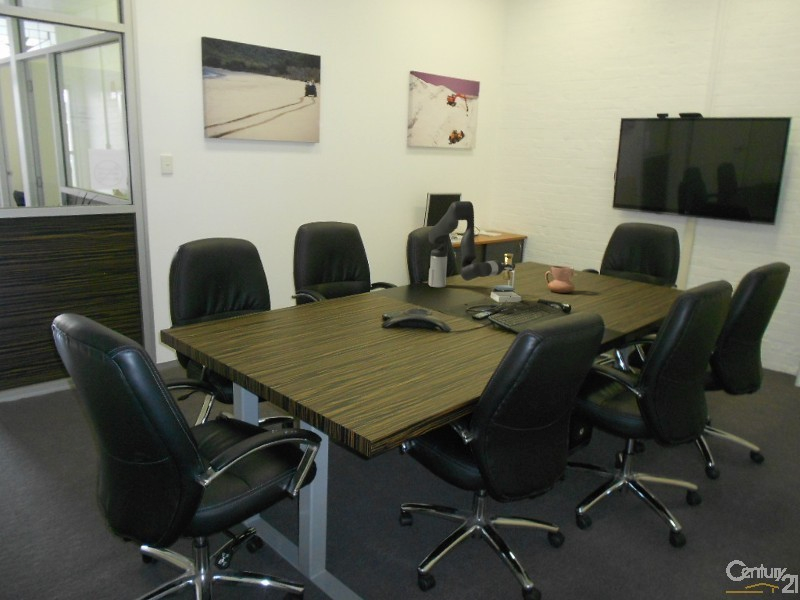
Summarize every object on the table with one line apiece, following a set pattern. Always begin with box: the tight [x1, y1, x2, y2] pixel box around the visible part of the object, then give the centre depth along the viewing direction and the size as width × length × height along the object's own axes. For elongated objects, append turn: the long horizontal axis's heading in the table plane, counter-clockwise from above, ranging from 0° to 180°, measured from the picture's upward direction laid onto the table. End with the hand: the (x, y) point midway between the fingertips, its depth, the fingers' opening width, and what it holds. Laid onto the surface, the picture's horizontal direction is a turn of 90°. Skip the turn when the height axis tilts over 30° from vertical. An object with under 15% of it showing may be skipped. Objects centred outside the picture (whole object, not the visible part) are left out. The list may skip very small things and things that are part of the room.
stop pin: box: [502, 253, 514, 281], centre depth 303 cm, size 5×5×13 cm
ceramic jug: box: [544, 265, 578, 294], centre depth 330 cm, size 18×14×14 cm
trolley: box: [492, 270, 516, 294], centre depth 316 cm, size 10×7×14 cm
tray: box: [490, 291, 522, 303], centre depth 306 cm, size 12×12×3 cm
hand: (510, 265), depth 305 cm, fingers closed on stop pin, 3 cm apart
